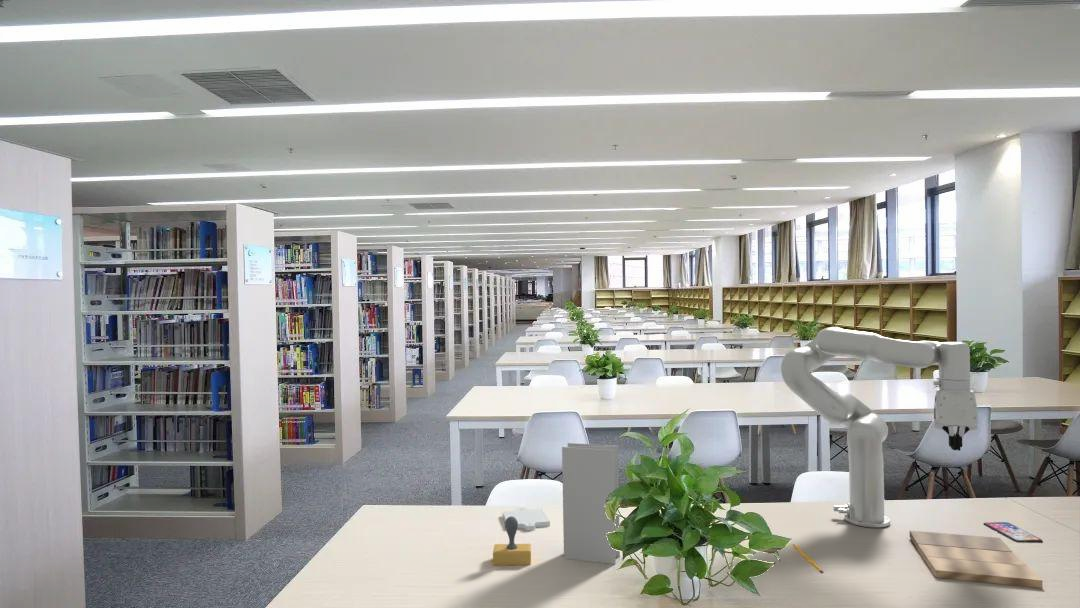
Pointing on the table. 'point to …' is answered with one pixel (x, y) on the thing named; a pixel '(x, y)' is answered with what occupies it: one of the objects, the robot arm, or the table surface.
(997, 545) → the walnut plank
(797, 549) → the pencil
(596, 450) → the brochure
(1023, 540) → the smartphone
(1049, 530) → the table surface
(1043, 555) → the table surface
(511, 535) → the rubber stamp
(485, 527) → the table surface
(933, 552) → the laid floor
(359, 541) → the table surface
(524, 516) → the mounting plate
